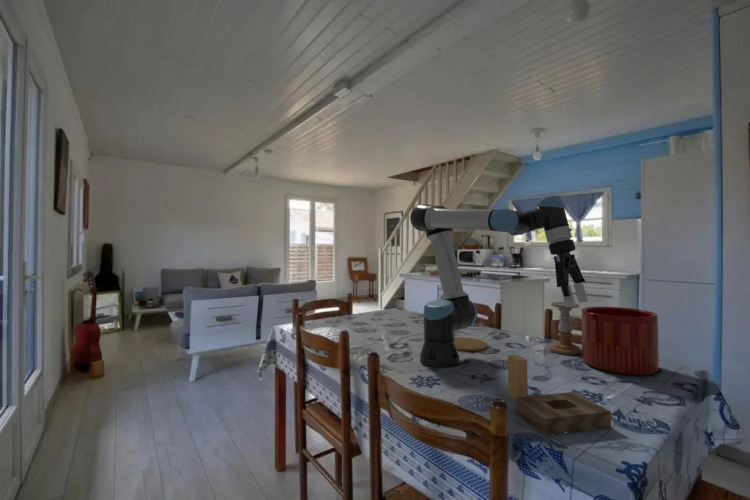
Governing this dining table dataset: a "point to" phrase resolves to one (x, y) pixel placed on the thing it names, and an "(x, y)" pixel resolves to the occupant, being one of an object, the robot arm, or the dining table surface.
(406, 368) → the dining table surface
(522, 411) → the socket block
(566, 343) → the candle holder
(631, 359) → the planter
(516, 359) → the peg
